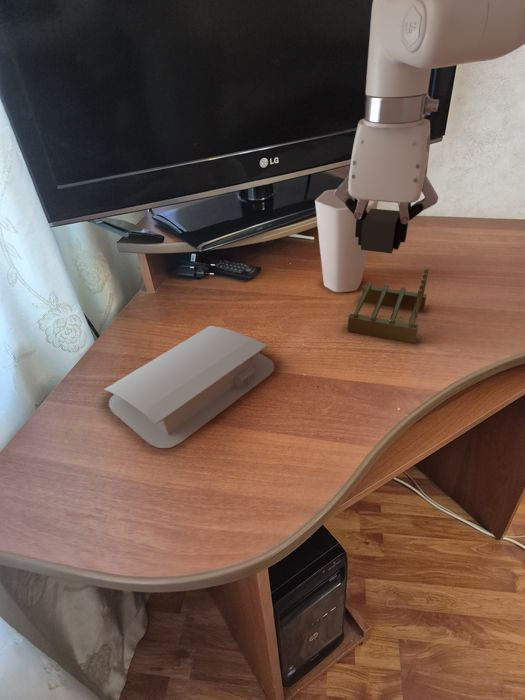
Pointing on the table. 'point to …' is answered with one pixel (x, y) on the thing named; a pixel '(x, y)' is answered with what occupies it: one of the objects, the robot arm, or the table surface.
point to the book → (189, 385)
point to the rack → (396, 300)
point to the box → (379, 230)
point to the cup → (339, 243)
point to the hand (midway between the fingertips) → (379, 242)
